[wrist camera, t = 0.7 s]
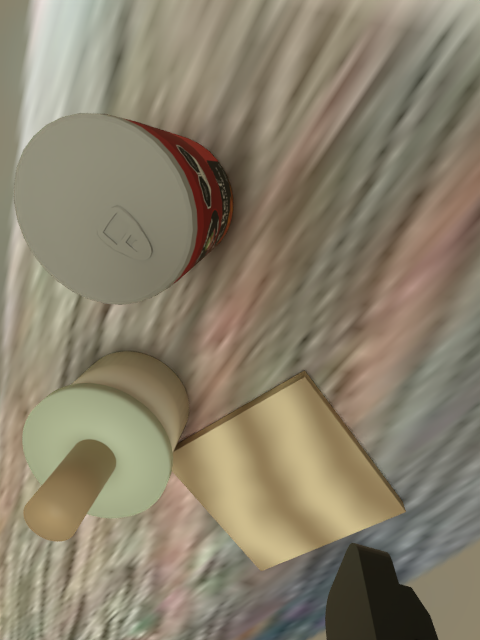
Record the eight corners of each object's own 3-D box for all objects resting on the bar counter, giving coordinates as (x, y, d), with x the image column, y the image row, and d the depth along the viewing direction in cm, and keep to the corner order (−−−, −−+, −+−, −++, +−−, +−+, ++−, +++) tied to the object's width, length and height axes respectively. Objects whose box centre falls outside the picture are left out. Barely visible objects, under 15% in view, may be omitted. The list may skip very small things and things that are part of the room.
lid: (103, 355, 25) (45, 408, 19) (203, 470, 27) (177, 550, 21) (3, 427, 28) (-71, 491, 22) (99, 526, 30) (53, 608, 24)
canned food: (209, 276, 28) (157, 335, 18) (106, 226, 28) (-6, 256, 18) (255, 170, 25) (225, 168, 15) (141, 113, 25) (32, 74, 15)
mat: (304, 370, 30) (304, 376, 29) (402, 501, 32) (405, 511, 31) (165, 451, 34) (161, 458, 33) (262, 561, 37) (261, 571, 36)
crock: (139, 330, 30) (102, 365, 25) (211, 417, 32) (192, 468, 27) (61, 386, 33) (13, 429, 28) (131, 464, 35) (100, 519, 29)
